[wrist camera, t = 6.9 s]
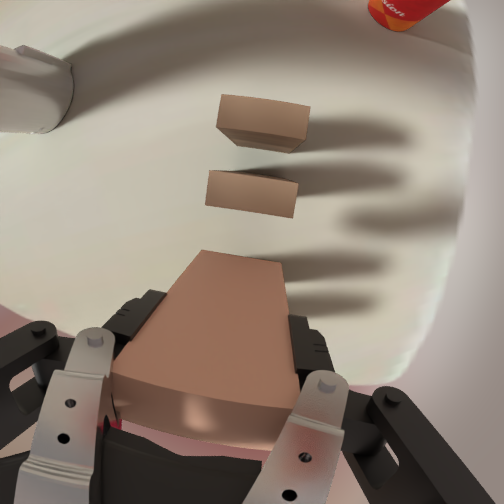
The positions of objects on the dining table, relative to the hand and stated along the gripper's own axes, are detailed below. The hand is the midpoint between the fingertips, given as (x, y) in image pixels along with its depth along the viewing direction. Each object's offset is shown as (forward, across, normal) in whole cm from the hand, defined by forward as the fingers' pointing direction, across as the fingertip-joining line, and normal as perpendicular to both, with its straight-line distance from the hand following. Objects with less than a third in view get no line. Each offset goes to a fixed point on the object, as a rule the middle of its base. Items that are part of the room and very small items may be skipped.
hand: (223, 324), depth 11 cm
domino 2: (+18, 0, -5) cm, 19 cm away
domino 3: (+7, 0, 0) cm, 7 cm away
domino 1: (+18, 0, -10) cm, 20 cm away
